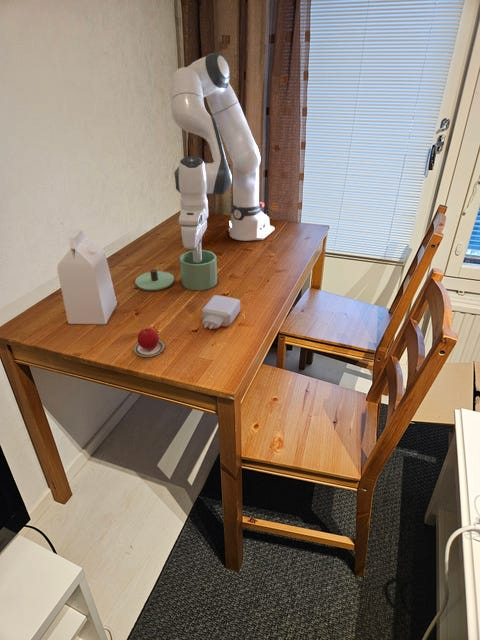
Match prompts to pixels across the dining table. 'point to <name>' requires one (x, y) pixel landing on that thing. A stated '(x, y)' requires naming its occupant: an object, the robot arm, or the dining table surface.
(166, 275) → the tin lid
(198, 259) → the glue stick
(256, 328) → the dining table surface
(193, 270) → the tin
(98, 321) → the milk
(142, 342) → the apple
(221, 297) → the charger
